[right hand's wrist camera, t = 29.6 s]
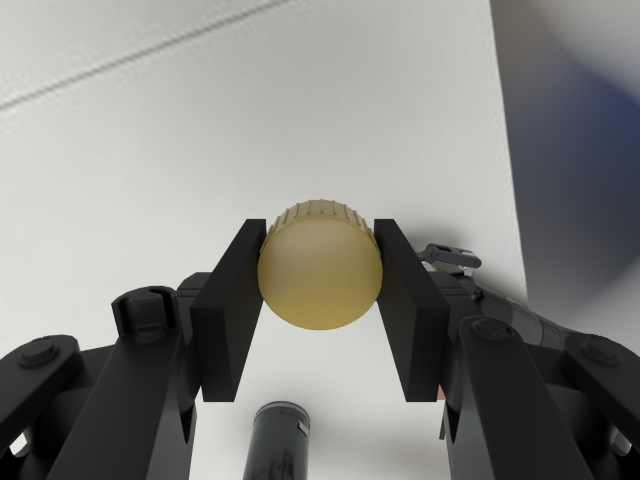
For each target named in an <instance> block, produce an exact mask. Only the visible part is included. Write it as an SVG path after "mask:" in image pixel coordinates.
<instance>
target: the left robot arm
mask: <svg viewBox="0 0 640 480" xmlns="http://www.w3.org/2000/svg"><path fill="white" fill-rule="evenodd" d="M415 253H416V252H415ZM416 254H417V256H418V258H419V259H420V261H421V262H422V264H423V265H424V267H425V268H426V270H427V271H438V270H437V269H436V268H435V267H434V266H433V265H432V263H433V262H434V261H440V262H445V263H451V264H456V265H457V266H458V268H459V269H461V270H462V272H454V273H448V274H450V275H451V276H453V277H455V278H456V279H457V280H458V281H459V283H460V284H461V285H462V286H463V289H465V290H466V291H467V293H468V294H469V296H470V297H471V298H472V299H473V300H474V302H475V303H476V304H477V305H478V307H479V308H480V309H481V310H482V312H483V313H484V314H485V316H486V317H491V318H495V319H498V320H500V321H503V322H505V323H507V324H508V325H510V326H511V327H513V328H515V329H516V330H517V332H518V333H519V334H520V335H521V337H522V339H523V341H524V342H525V343H529V344H533V345H538V346H543V347H548V348H554V349H559V350H560V349H561V345H562V342H563V339H564V338H565V337H566V336H567V335H569V334H575V333H581V332H577V331H574V330H570V329H567V328H564V327H561V326H558V325H557V324H555V323H553V322H551V321H549V320H547V319H545V318H543V317H541V316H539V315H537V314H535V313H533V312H531V311H530V310H528V309H527V308H526V307H524V306H523V305H521V304H519V303H517V302H515V301H513V300H511V299H509V298H507V297H505V296H503V295H501V294H499V293H497V292H495V291H493V290H491V289H489V288H487V287H485V286H483V285H481V284H479V283H477V282H475V281H474V280H473V278H472V277H471V276H472V274H473V271H474V269H475V268H478V267H480V266H481V260H480V259H479V258H478V257H477V256H476V255H475V254H473V253H472V252H471V251H468V250H463V249H458V248H453V247H448V246H443V245H438V244H433V243H430V244H428V245H427V247H426V249H425V250H424V251H423V252H421V253H416ZM375 301H377V299H376V300H375ZM309 431H310V420H309V417H308V415H307V414H306V412H305V411H304V410H303V409H301V408H300V407H298V406H296V405H294V404H290V403H285V402H277V403H272V404H269V405H266V406H264V407H263V408H261V409H260V410H259V411H258V413H257V414H256V416H255V419H254V427H253V432H252V437H251V441H250V446H249V451H248V456H247V461H246V466H245V470H244V475H243V480H307V478H308V448H309ZM614 443H615V444H616V445H617V446H618V447H619V448H620V449H621V450H622V451H623V452H624V453H626V454H627V453H628V452H629V450H630V442H629V441H628V440H627V439H626V438H625V437H624V436H623V435H622V434H621V433H620V432H619V430H618V432H617V434H616V437H615V439H614Z"/></svg>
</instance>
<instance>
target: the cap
mask: <svg viewBox="0 0 640 480" xmlns="http://www.w3.org/2000/svg"><path fill="white" fill-rule="evenodd" d="M259 253H260V257H259V261H258V266H257V270H258V284H259V289H260V292H261V294H262V297H263V299H264V300H265V302H266V303H267V305H268V306H269V307H270V309H271V310H272V311H273V312H274V313H275V314H276V315H278V316H279V317H280V318H282V319H283V320H285V321H287V322H288V323H290V324H293V325H295V326H298V327H301V328H304V329H310V330H330V329H335V328H339V327H343V326H345V325H347V324H350V323H352V322H353V321H355V320H357V319H358V318H360V317H361V316H362V315H364V314H365V313H366V312H367V311H368V310H369V309H370V307H371V306H372V305H373V303H374V302H375V300H376V299H377V297H378V295H379V292H380V289H381V286H382V274H383V266H382V261H381V253H380V251H379V248H378V246H377V243H376V240H375V238H374V235H373V233H372V230H371V228H368V226H367V224H366V221H365V219H364V218H363V219H362V218H361V217H360V216H359V215H358V214H357V211H353V210H352V209H350V208H349V207H347V205H345V204H344V205H343V204H340V203H337V202H335V201H334V200H333V201H328V200H323V199H321V200H312V201H311V200H308V201H307V202H303V203H300V204H299V203H297V204H296V205H295V206H293V207H291V208H290V209H286V211H285V212H284V213H283V214H282V215H281V216H280V217H279V216H278V217H277V219H276V221H275V223H274V225H271V226H270V229H269V231H268V234H267V235H266V238H265V240H264V243H263V245H262V247H261V250H260V252H259Z"/></svg>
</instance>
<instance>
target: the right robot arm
mask: <svg viewBox="0 0 640 480" xmlns="http://www.w3.org/2000/svg"><path fill="white" fill-rule="evenodd" d="M266 235H267V231H266V219H246V221H245V223H244V224H243V226H242V227H241V229H240V230H239V232H238V233H237V235H236V236H235V238H234V239H233V241H232V243H231V244H230V246H229V247H228V249H227V250H226V252H225V253H224V255H223V256H222V258H221V260H220V261H219V263H218V264H217V266H216V267H215V269H214V270H213V272H196V273H194V274H193V275H191V276H190V277H188V278H186V279H185V280H184V281H183V282H182V283H181V284H180V286H179V287H178V288H177V290H176V291H175V290H174V289H172V288H170V287H166V286H148V287H143V288H138V289H135V290H132V291H129V292H127V293H125V294H123V295H121V296H119V297H118V298H116V299H115V300H114V301H113V302H112V303H111V306H112V310H113V314H114V318H115V322H116V326H117V330H118V334H119V337H118V339H117V341H116V343H115V344H114V345H110V346H105V347H100V348H95V349H90V350H85V351H80V348H79V344H78V341H77V340H76V339H75V338H74V337H73V336H69V335H52V336H45V337H43V338H37V339H34V340H32V341H31V342H28V343H26V344H24V345H21V346H20V347H18V348H16V349H15V350H13V351H12V352H10V353H8V354H7V355H6V356H4V357H3V358H2V359H1V360H0V480H189V473H190V465H191V457H192V450H193V442H194V434H195V426H196V419H197V413H196V406H195V398H196V396H197V393H198V391H199V389H200V386H201V388H202V394H203V401H204V402H234V400H235V397H236V393H237V390H238V386H239V383H240V379H241V376H242V372H243V369H244V366H245V362H246V359H247V355H248V352H249V348H250V345H251V342H252V338H253V335H254V331H255V328H256V324H257V321H258V317H259V314H260V311H261V307H262V304H263V300H264V299H263V297H262V294H261V292H260V289H259V284H258V270H257V266H258V261H259V257H260V253H259V252H260V250H261V247H262V245H263V243H264V240H265V238H266ZM374 238H375V240H376V243H377V246H378V248H379V251H380V253H381V261H382V266H383V274H382V286H381V289H380V292H379V295H378V297H377V303H378V306H379V310H380V313H381V317H382V320H383V324H384V327H385V330H386V334H387V337H388V341H389V344H390V348H391V351H392V354H393V358H394V361H395V365H396V368H397V372H398V375H399V379H400V382H401V385H402V389H403V392H404V396H405V399H406V402H437V396H438V390H439V384H440V386H441V389H442V391H443V393H444V396H445V398H446V400H445V406H444V412H443V418H442V424H441V430H440V437H439V439H442V440H444V437H445V433H446V441H447V449H448V457H449V464H450V472H451V480H640V357H639V356H637V355H636V354H635V353H634V352H632V351H631V350H629V349H627V348H626V347H624V346H622V345H621V344H619V343H616V342H614V341H612V340H610V339H608V338H606V337H603V336H598V335H594V334H584V333H575V334H569V335H567V336H566V337H565V338H564V339H563V342H562V345H561V349H560V350H559V349H554V348H548V347H543V346H538V345H533V344H529V343H525V342H524V341H523V339H522V337H521V335H520V334H519V333H518V332H517V330H516V329H515V328H513V327H511V326H510V325H508V324H507V323H505V322H503V321H500V320H498V319H495V318H491V317H486V316H485V314H484V313H483V312H482V310H481V309H480V308H479V307H478V305H477V304H476V303H475V302H474V300H473V299H472V298H471V297H470V296H469V294H468V293H467V291H466V290H465V289H463V286H462V285H461V284H460V283H459V281H458V280H457V279H456V278H455V277H453V276H451V275H450V274H448V273H446V272H445V271H427V270H426V268H425V267H424V265H423V264H422V262H421V261H420V259H419V258H418V256H417V254H416V253H415V251H414V250H413V248H412V247H411V245H410V244H409V242H408V241H407V239H406V238H405V236H404V234H403V233H402V231H401V230H400V228H399V227H398V225H397V224H396V222H395V221H394V219H374ZM618 430H619V432H620V433H621V434H622V435H623V436H624V437H625V438H626V439H627V440H628V441H629V442H630V443H631V444H632V446H631V448H630V450H629V452H628V453H627V454H626V453H624V452H623V451H622V450H621V449H620V448H619V447H618V446H617V445H616V444H615V443H614V439H615V437H616V434H617V432H618ZM22 432H23V434H24V436H25V438H26V441H27V444H26V445H25V446H24V447H23V448H22V449H21V450H20V451H19V452H18V453H17V454H15V455H13V454H12V452H11V450H10V447H9V446H10V445H11V444H12V443H13V442H14V441H15V440H16V439H17V438H18V437H19V436H20V435H21V434H22Z"/></svg>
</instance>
